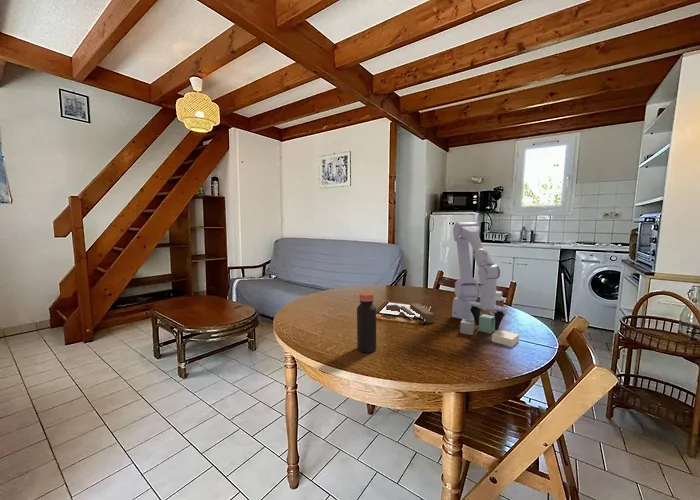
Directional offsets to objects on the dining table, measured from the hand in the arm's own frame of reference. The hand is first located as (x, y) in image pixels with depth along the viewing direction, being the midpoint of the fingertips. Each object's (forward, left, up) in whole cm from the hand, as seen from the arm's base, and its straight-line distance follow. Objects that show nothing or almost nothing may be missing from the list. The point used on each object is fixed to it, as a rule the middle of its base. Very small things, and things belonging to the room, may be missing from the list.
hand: (486, 327), depth 120 cm
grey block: (-5, -7, -2) cm, 9 cm away
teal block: (0, 0, -2) cm, 2 cm away
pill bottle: (-5, +24, -2) cm, 25 cm away
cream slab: (+9, -6, -2) cm, 11 cm away
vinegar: (-23, -47, -2) cm, 52 cm away
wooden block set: (-32, -9, -2) cm, 33 cm away
